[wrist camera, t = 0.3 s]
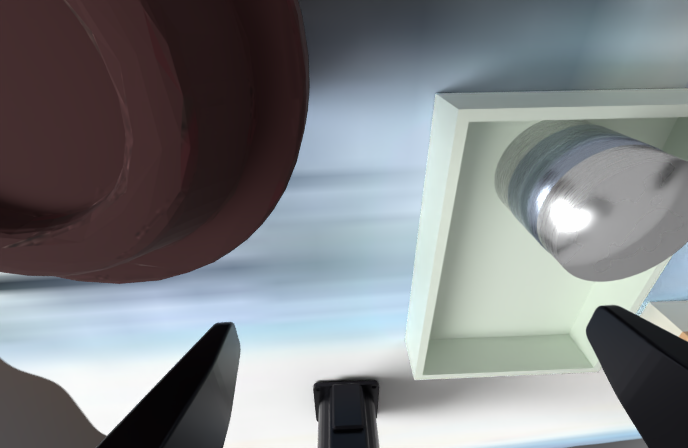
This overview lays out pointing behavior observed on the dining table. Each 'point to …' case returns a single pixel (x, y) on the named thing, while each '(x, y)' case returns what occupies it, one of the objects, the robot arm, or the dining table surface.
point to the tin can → (595, 197)
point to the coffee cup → (144, 131)
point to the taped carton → (668, 316)
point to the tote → (513, 239)
